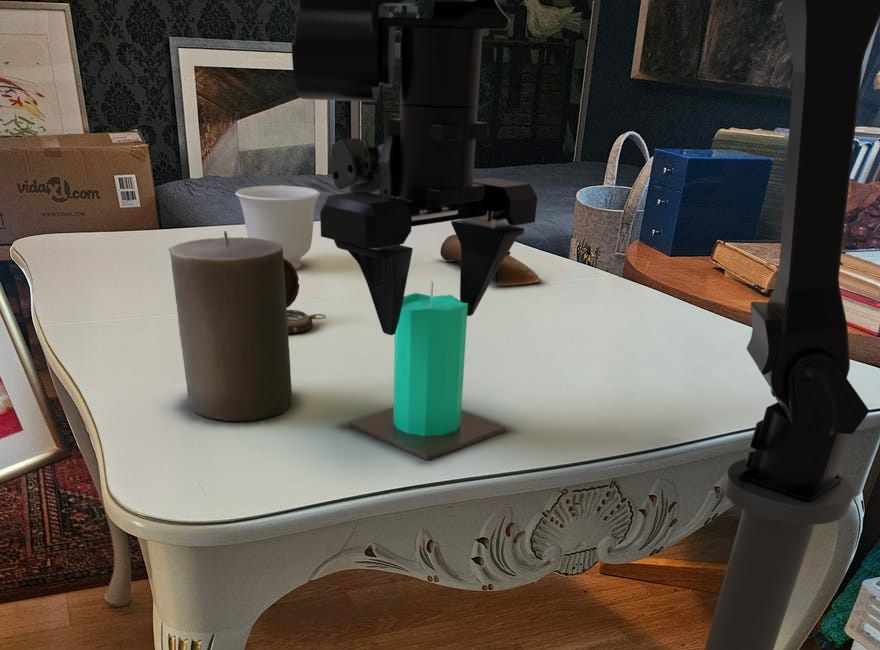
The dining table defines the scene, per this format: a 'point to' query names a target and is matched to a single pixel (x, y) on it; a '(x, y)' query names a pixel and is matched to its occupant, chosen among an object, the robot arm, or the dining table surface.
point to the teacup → (280, 217)
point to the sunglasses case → (506, 274)
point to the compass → (295, 318)
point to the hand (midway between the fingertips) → (429, 324)
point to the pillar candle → (233, 326)
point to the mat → (427, 446)
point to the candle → (429, 364)
